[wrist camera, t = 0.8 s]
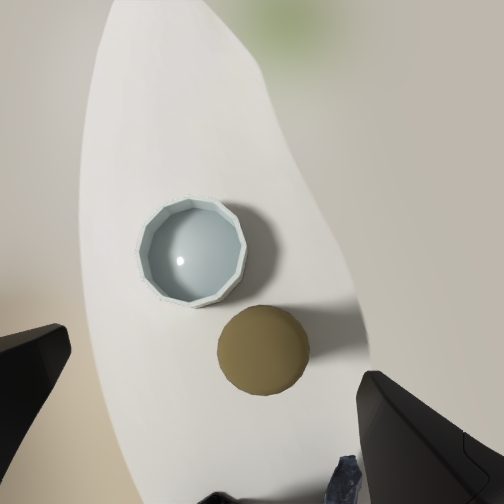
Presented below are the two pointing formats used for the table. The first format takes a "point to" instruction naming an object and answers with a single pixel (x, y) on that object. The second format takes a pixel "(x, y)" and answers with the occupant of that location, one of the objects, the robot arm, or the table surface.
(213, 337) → the table surface
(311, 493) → the table surface
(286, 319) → the cork
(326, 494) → the stone
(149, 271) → the bowl
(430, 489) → the robot arm
